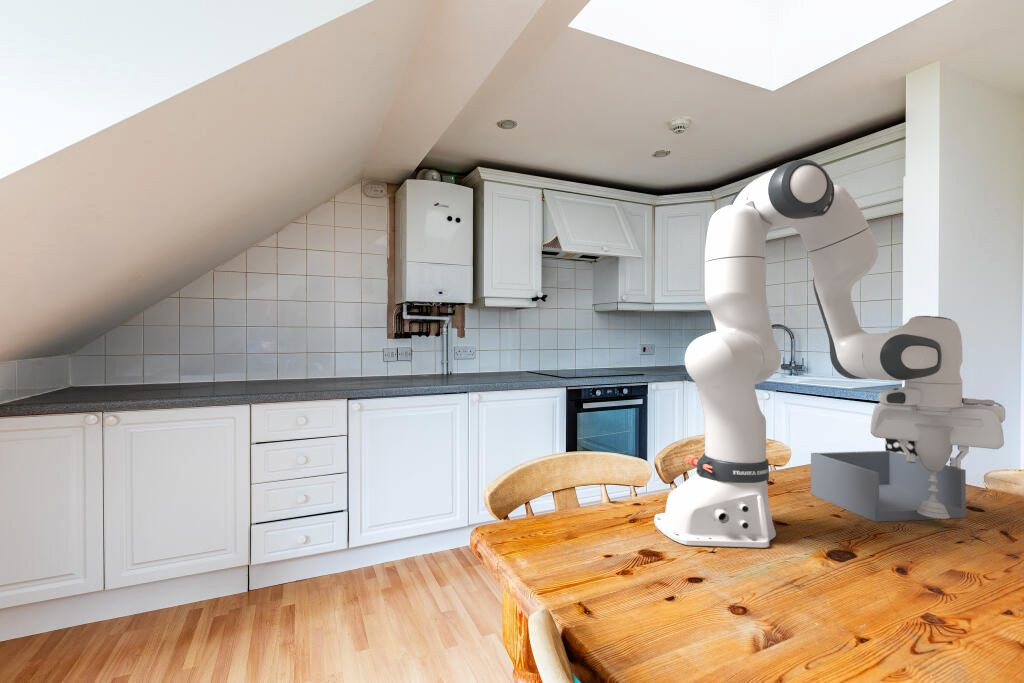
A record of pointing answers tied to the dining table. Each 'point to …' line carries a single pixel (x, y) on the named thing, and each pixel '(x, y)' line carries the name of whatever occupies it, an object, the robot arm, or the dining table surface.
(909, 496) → the open gray box tray
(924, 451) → the chalice
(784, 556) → the dining table surface
